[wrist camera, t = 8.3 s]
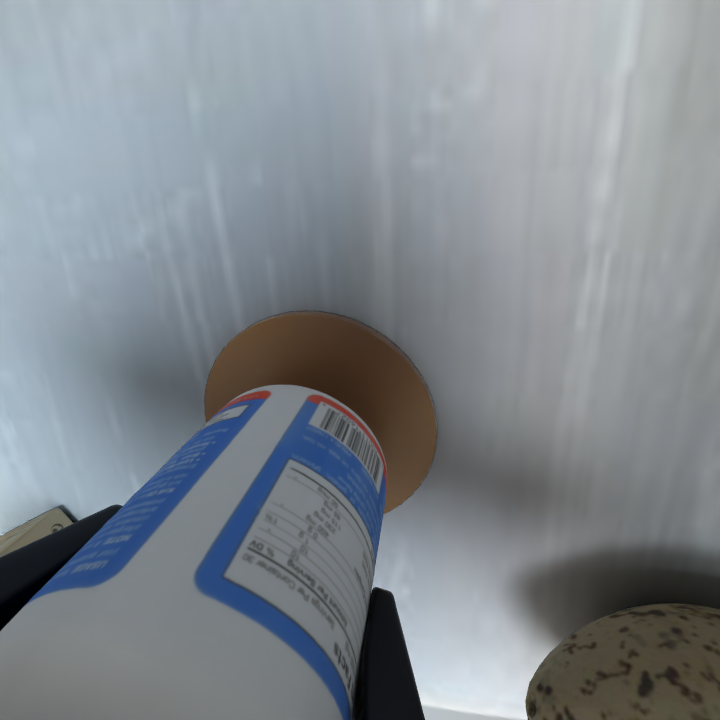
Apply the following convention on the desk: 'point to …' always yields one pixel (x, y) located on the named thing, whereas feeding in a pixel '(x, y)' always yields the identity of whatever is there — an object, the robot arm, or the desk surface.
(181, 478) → the pill bottle
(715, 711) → the decorative egg
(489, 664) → the desk surface
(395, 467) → the coaster
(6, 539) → the box
